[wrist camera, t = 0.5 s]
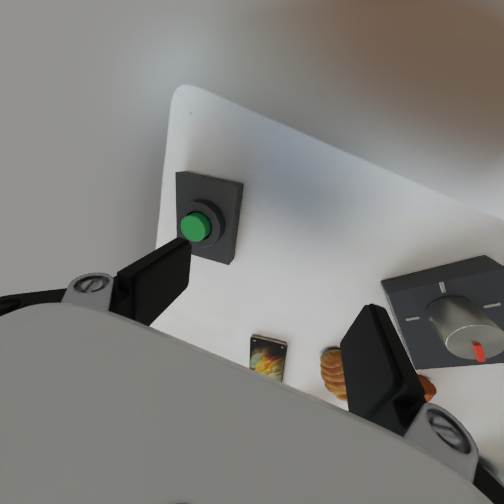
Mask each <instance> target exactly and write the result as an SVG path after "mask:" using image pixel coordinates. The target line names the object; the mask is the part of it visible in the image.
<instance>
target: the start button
mask: <svg viewBox="0 0 504 504" xmlns="http://www.w3.org/2000/svg"><path fill="white" fill-rule="evenodd" d="M181 230H182V233H183V234H184V236H185V237H186V238H187V239H189V240H191V241H194V242H197V241H201V240H202V239H203V238H205V237H206V236H207V235H208V234H209V233H210V230H211V224H210V221H209V220H208V218H207V217H206V216H205V215H203V214H202V213H198V212H195V213H192V214H190V215H188V216H186V217H184V218H183V219H182V221H181Z"/></svg>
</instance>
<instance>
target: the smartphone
mask: <svg viewBox="0 0 504 504" xmlns="http://www.w3.org/2000/svg"><path fill="white" fill-rule="evenodd" d="M286 351H287V345H286V343H284V342H280V341H276V340H272V339H268V338H264V337H259V336H255V335H253V336H251V339H250V369H251V370H254V371H256V372H258V373H261V374H263V375H265V376H268V377H270V378H272V379H275V380H277V381H279V382H282V379H283V372H284V365H285V358H286Z"/></svg>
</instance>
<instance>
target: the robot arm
mask: <svg viewBox="0 0 504 504" xmlns="http://www.w3.org/2000/svg"><path fill="white" fill-rule="evenodd" d="M191 251H192V244H190V241H189V240H187V239H184V238H181V237H177V238H176V239H174V240H172V241H170V242H169V243H167V244H165V245H163V246H162V247H160V248H158V249H157V250H155V251H153V252H151V253H150V254H148V255H146V256H144V257H143V258H141V259H139V260H137V261H136V262H134V263H132V264H131V265H129V266H127V267H125V268H124V269H122V270H120V271H119V272H117V276H115V277H113V278H112V276H110V275H108V274H104V273H89V274H86V275H82V276H80V277H77V278H76V279H74V280H73V281H72V282H71V283H70V284H69V286H68V288H66V289H58V290H48V291H40V292H31V293H23V294H15V295H8V296H2V297H0V504H504V487H503V486H502V485H501V484H500V483H499V482H498V481H497V480H496V479H495V478H494V477H493V476H492V475H491V474H490V473H489V472H488V471H487V470H486V469H485V468H484V467H483V466H482V465H481V464H480V463H479V462H478V458H479V455H478V449H477V446H476V443H475V441H474V440H473V438H472V437H471V435H470V433H469V432H468V431H467V430H466V428H465V427H464V426H463V425H462V424H461V423H460V422H459V421H458V420H457V419H456V418H455V417H454V416H453V415H452V414H450V413H449V412H448V411H447V410H445V409H443V408H442V407H440V406H438V405H436V404H432V403H427V401H426V399H425V397H424V395H426V392H425V390H424V388H423V386H422V384H421V382H420V380H419V378H418V375H417V373H416V371H415V369H414V367H413V365H412V363H411V361H410V359H409V357H408V355H407V353H406V351H405V348H404V346H403V344H402V342H401V340H400V338H399V336H398V334H397V332H396V330H395V328H394V326H393V324H392V321H391V319H390V317H389V315H388V313H387V311H386V309H385V308H383V307H380V306H378V305H375V304H369V305H365V306H364V307H363V309H362V310H361V312H360V313H359V315H358V316H357V318H356V319H355V321H354V322H353V324H352V325H351V327H350V328H349V330H348V331H347V333H346V334H345V336H344V338H343V339H342V341H341V343H340V352H341V359H342V366H343V373H344V380H345V387H346V394H347V401H348V408H349V412H348V411H346V410H344V409H342V408H339V407H337V406H335V405H332V404H330V403H328V402H326V401H323V400H321V399H319V398H316V397H314V396H312V395H309V394H307V393H305V392H302V391H300V390H298V389H295V388H293V387H291V386H289V385H286V384H284V383H282V382H279V381H277V380H275V379H272V378H270V377H268V376H265V375H263V374H261V373H258V372H256V371H254V370H251V369H249V368H247V367H244V366H242V365H239V364H237V363H235V362H232V361H230V360H228V359H225V358H223V357H221V356H218V355H216V354H214V353H211V352H209V351H207V350H204V349H202V348H199V347H197V346H195V345H192V344H190V343H187V342H185V341H183V340H180V339H178V338H175V337H173V336H171V335H168V334H166V333H164V332H161V331H159V330H156V329H154V328H151V327H149V326H150V324H151V323H152V322H153V321H154V320H155V319H156V318H157V317H158V316H159V315H160V314H161V313H162V312H163V311H164V310H165V309H166V308H167V307H168V306H169V305H170V304H171V303H172V302H173V301H174V300H175V299H176V298H177V297H178V296H179V295H180V294H181V293H182V292H183V291H184V290H185V289H186V288H187V286H188V283H189V273H190V262H191Z"/></svg>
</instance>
